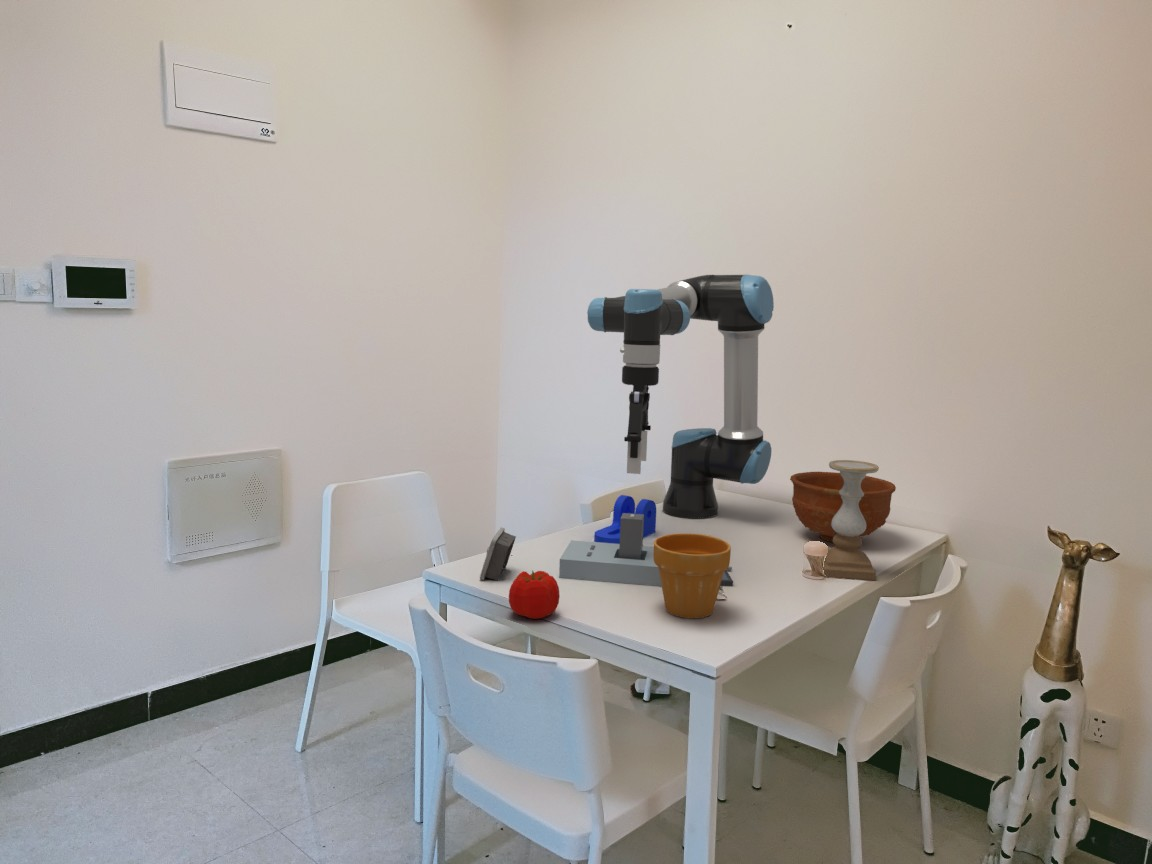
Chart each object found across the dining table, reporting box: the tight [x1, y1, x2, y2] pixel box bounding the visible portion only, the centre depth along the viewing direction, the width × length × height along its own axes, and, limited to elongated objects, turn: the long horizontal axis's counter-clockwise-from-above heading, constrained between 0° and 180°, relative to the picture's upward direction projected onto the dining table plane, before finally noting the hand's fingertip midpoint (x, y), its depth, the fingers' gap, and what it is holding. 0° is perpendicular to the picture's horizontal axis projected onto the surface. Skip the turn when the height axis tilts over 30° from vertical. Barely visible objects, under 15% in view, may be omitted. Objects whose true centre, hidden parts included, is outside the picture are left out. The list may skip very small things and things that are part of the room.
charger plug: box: [619, 513, 644, 560], centre depth 175 cm, size 4×4×12 cm
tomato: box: [508, 570, 561, 620], centre depth 151 cm, size 9×9×8 cm
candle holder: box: [823, 459, 880, 582], centre depth 180 cm, size 11×11×24 cm
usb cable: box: [726, 566, 733, 572], centre depth 182 cm, size 15×1×1 cm, turn 71°
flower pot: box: [653, 532, 732, 619], centre depth 155 cm, size 14×14×13 cm
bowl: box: [789, 471, 897, 543], centre depth 206 cm, size 25×25×15 cm
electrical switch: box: [479, 527, 517, 581], centre depth 172 cm, size 9×5×9 cm, turn 173°
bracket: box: [593, 494, 657, 544], centre depth 202 cm, size 18×8×9 cm, turn 145°
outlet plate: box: [558, 539, 662, 587], centre depth 176 cm, size 14×22×4 cm, turn 81°
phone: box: [720, 570, 734, 587], centre depth 173 cm, size 7×14×1 cm, turn 91°
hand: (636, 466), depth 173 cm, fingers open, 13 cm apart
